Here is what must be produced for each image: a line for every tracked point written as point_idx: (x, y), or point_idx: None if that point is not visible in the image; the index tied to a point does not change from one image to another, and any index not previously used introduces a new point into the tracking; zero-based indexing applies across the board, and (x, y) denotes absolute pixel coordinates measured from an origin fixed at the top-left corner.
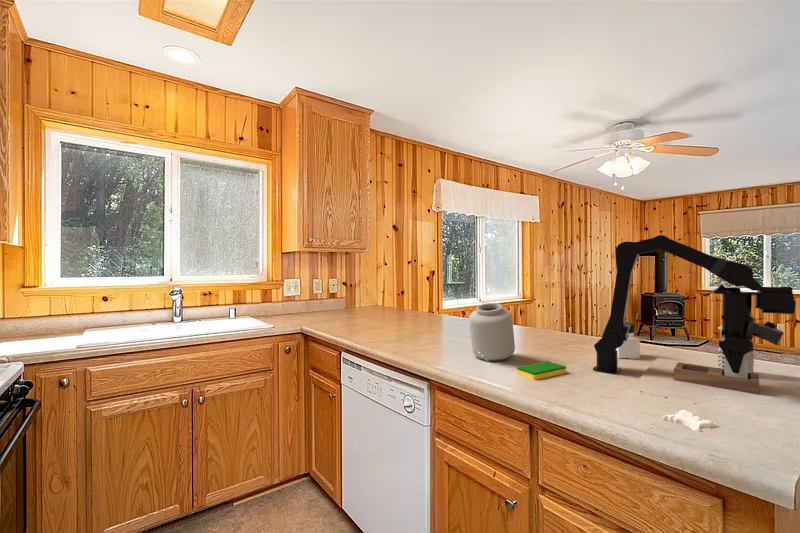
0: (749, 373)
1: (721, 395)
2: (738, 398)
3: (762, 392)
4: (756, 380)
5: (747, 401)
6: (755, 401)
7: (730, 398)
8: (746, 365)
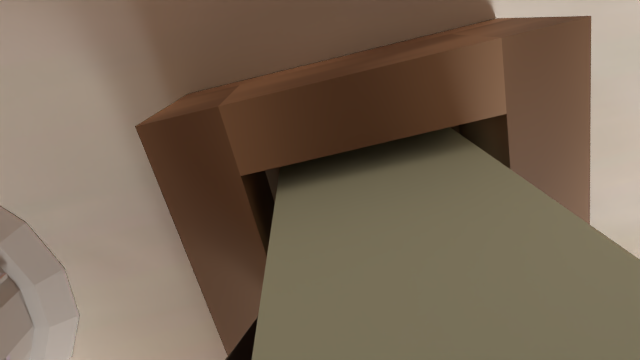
0: (206, 194)
1: (598, 211)
2: (595, 121)
3: (261, 47)
4: (506, 61)
5: (635, 59)
6: (593, 19)
7: (635, 155)
8: (575, 231)
